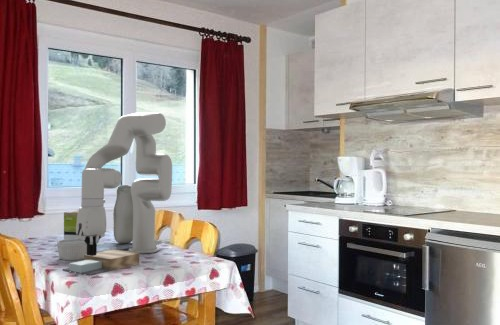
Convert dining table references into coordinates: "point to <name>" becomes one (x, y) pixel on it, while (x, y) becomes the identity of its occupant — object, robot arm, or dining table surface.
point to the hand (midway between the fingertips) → (91, 255)
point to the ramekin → (72, 249)
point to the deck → (115, 258)
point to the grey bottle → (123, 215)
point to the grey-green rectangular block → (85, 265)
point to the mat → (92, 271)
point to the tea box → (70, 224)
